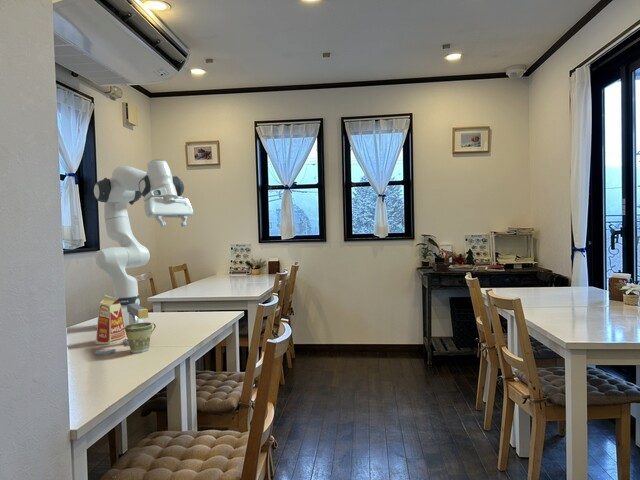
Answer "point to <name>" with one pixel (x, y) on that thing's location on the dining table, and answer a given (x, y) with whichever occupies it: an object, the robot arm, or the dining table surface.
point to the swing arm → (137, 310)
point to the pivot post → (132, 320)
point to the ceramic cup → (139, 336)
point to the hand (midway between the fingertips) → (174, 226)
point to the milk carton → (110, 322)
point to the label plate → (105, 351)
